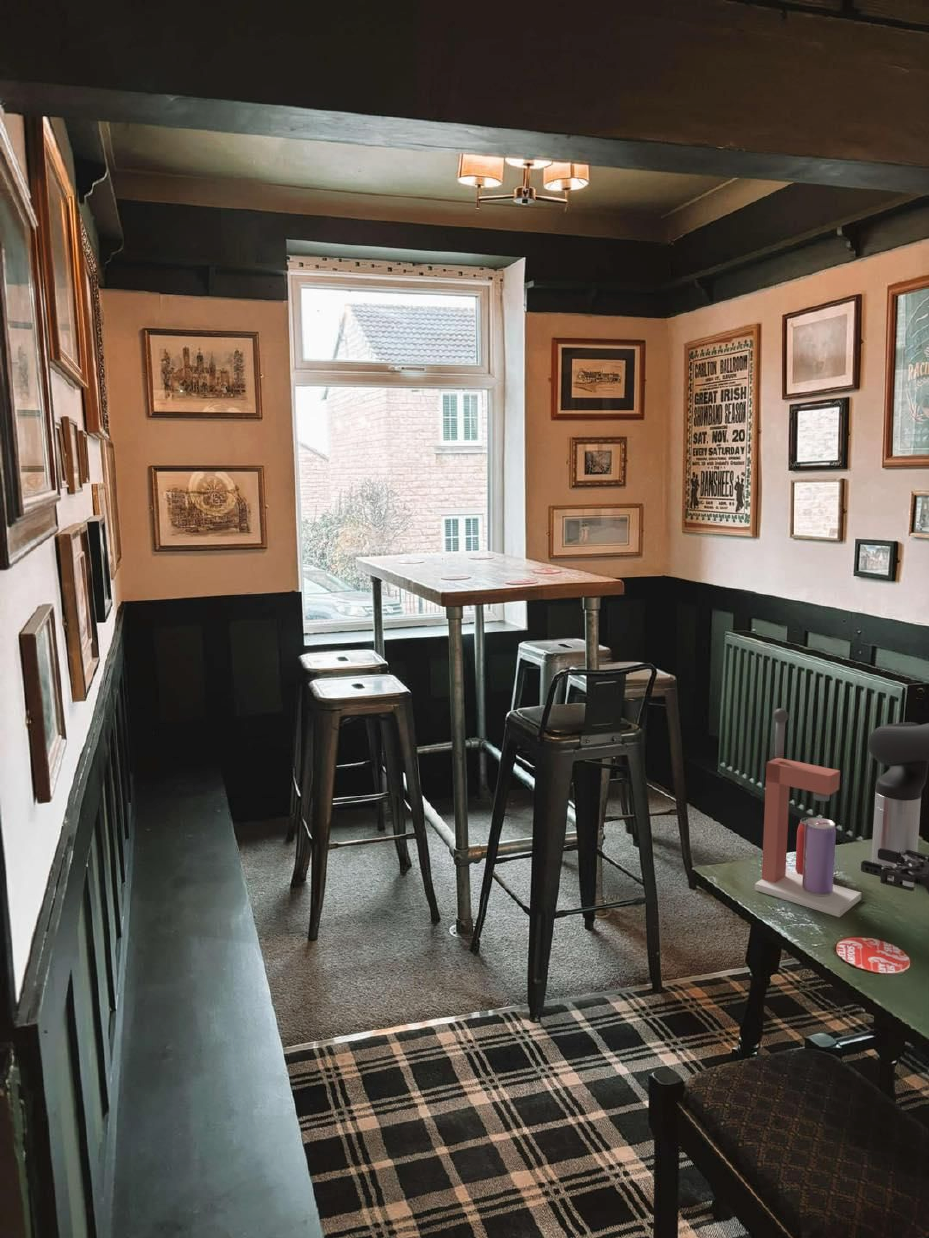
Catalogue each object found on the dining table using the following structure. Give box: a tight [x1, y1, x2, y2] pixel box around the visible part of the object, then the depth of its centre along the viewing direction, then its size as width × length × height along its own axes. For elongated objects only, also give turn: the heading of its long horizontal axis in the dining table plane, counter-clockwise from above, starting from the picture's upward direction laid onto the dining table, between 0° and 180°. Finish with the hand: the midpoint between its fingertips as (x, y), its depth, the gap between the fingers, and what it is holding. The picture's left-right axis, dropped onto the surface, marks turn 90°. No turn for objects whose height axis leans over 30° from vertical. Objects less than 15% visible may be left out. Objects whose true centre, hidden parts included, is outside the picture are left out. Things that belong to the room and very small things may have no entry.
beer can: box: [795, 817, 811, 875], centre depth 200 cm, size 7×7×12 cm
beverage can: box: [802, 817, 837, 896], centre depth 188 cm, size 6×6×15 cm
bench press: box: [754, 708, 862, 918], centre depth 188 cm, size 11×18×39 cm, turn 46°
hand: (870, 859), depth 180 cm, fingers open, 8 cm apart
